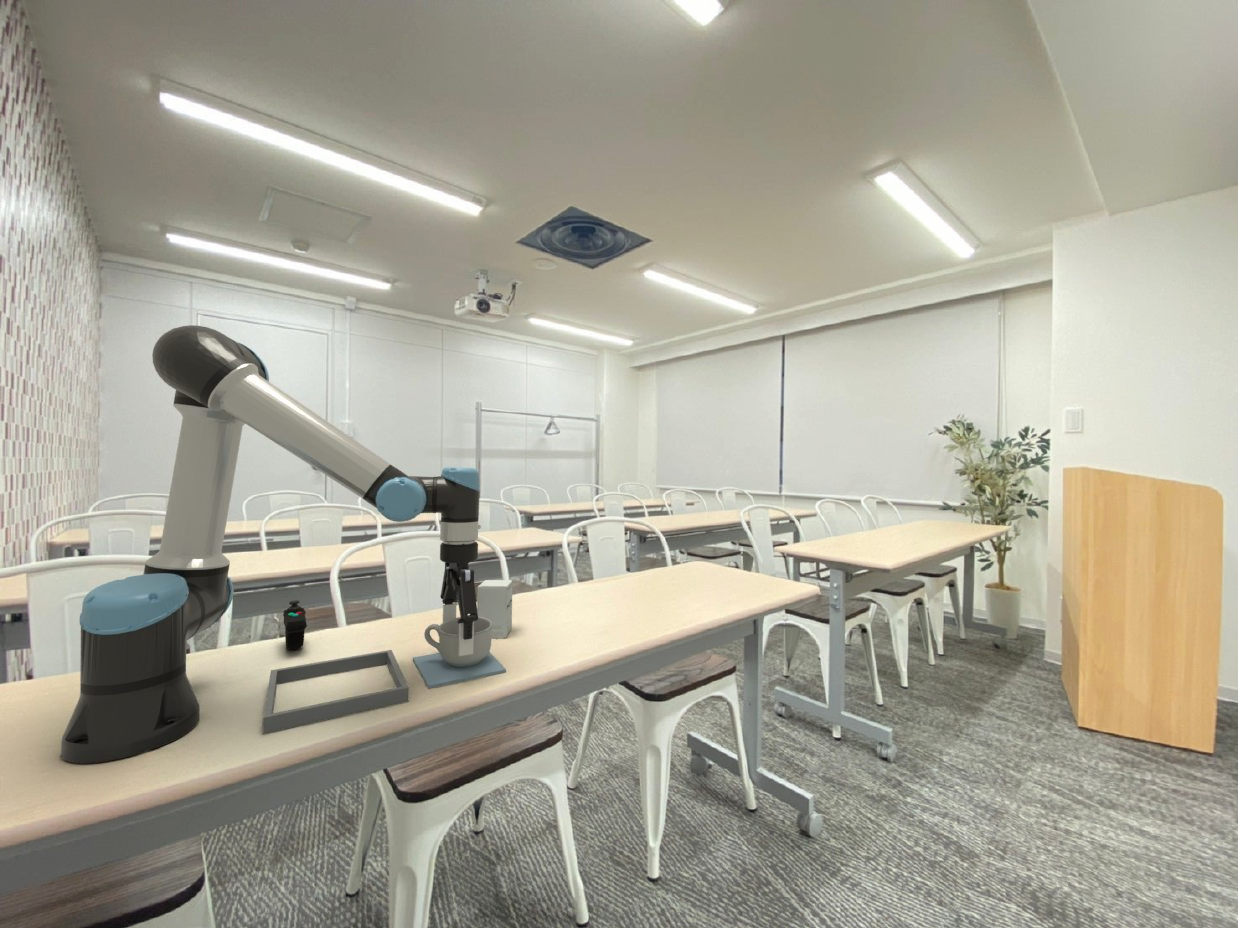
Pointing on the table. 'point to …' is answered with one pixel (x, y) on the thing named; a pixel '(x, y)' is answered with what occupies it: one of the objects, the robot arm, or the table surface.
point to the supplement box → (496, 605)
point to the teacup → (450, 641)
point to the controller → (294, 625)
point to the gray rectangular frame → (335, 707)
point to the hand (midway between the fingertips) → (457, 643)
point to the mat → (454, 670)
